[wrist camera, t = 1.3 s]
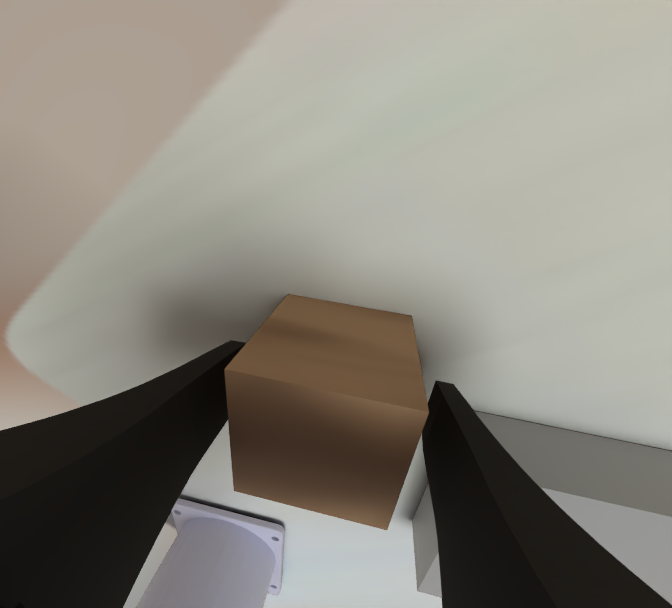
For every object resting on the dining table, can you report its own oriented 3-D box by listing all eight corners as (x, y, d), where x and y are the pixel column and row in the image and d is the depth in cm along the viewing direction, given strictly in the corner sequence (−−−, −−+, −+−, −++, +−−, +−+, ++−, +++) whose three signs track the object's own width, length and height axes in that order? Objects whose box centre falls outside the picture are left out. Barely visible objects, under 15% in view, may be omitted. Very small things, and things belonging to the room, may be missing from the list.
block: (387, 408, 13) (387, 530, 8) (285, 386, 13) (233, 490, 9) (411, 314, 11) (429, 412, 6) (289, 293, 11) (224, 369, 7)
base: (577, 562, 15) (619, 646, 12) (412, 521, 16) (417, 591, 13) (686, 454, 11) (781, 541, 8) (459, 407, 12) (480, 474, 9)
